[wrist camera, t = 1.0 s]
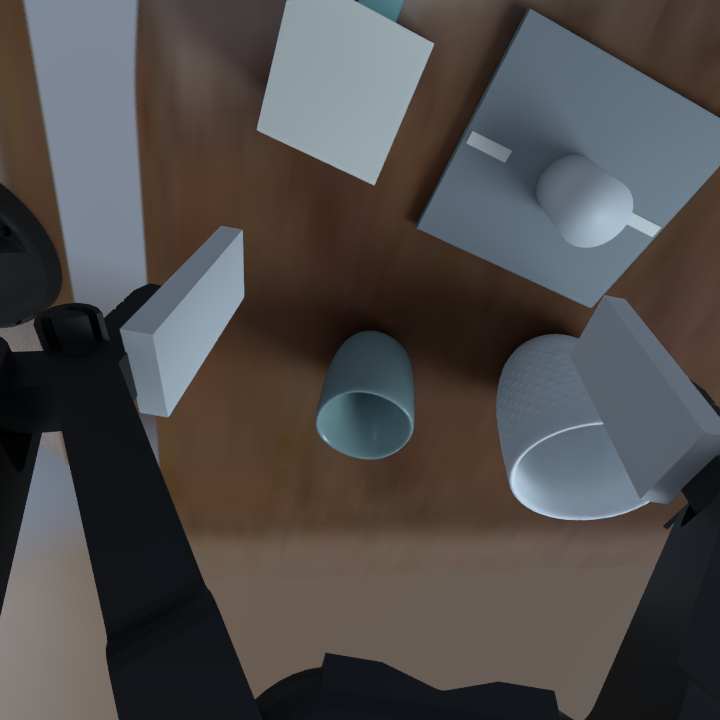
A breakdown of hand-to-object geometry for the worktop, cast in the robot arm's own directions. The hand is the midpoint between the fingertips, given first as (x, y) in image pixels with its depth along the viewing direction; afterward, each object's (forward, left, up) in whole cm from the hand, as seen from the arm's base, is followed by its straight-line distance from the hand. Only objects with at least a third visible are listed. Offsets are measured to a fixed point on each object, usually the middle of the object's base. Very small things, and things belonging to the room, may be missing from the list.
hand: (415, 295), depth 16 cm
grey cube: (-6, +3, -19) cm, 20 cm away
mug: (+20, -11, -19) cm, 30 cm away
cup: (+4, -17, -19) cm, 26 cm away
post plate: (+10, +3, -19) cm, 22 cm away
